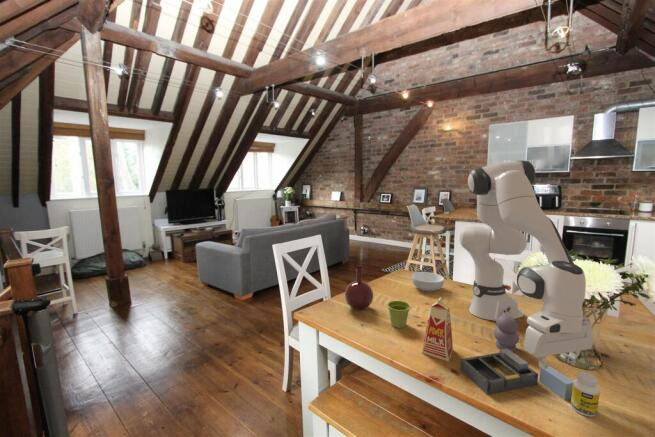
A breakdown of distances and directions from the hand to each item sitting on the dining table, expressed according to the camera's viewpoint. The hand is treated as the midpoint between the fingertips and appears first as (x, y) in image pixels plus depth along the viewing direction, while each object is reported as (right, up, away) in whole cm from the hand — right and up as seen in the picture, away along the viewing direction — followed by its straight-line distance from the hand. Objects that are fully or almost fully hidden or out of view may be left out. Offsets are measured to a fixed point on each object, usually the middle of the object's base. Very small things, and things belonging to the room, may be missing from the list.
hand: (556, 365), depth 88 cm
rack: (-13, -7, +8) cm, 17 cm away
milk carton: (-27, -5, +22) cm, 35 cm away
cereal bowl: (-11, +3, +80) cm, 81 cm away
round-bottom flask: (-51, -1, +57) cm, 76 cm away
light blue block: (+1, -8, +2) cm, 8 cm away
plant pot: (-36, -3, +41) cm, 55 cm away
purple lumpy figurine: (-1, -5, +23) cm, 24 cm away
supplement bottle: (+2, -9, -6) cm, 11 cm away
